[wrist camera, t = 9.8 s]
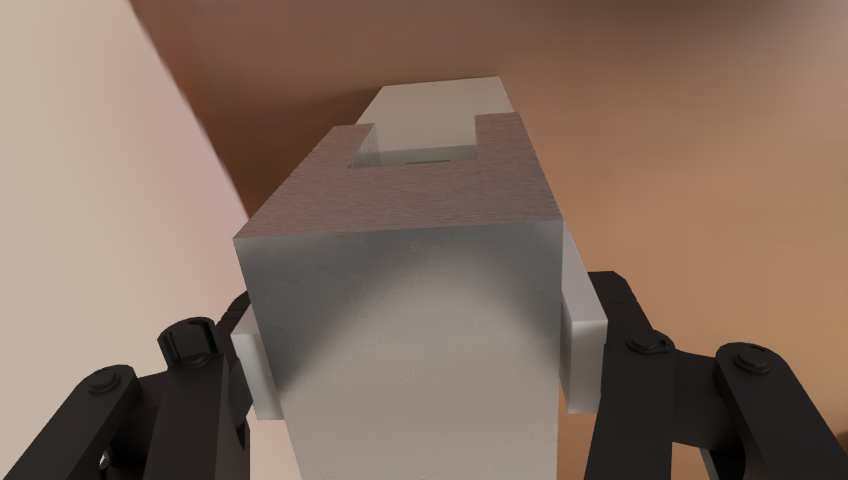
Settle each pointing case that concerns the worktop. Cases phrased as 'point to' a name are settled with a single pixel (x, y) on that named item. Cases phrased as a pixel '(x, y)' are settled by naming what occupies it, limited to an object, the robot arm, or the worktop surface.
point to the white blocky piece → (432, 119)
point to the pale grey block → (413, 309)
